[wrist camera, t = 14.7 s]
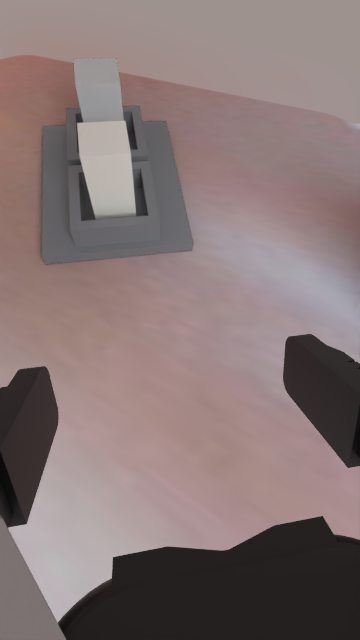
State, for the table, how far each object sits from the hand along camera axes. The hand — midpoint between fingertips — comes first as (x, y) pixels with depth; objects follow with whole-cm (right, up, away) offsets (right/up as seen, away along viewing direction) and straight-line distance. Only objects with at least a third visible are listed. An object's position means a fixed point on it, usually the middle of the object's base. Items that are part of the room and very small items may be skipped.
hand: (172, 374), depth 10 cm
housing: (-9, +20, +32) cm, 39 cm away
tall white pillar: (-8, +16, +29) cm, 34 cm away
